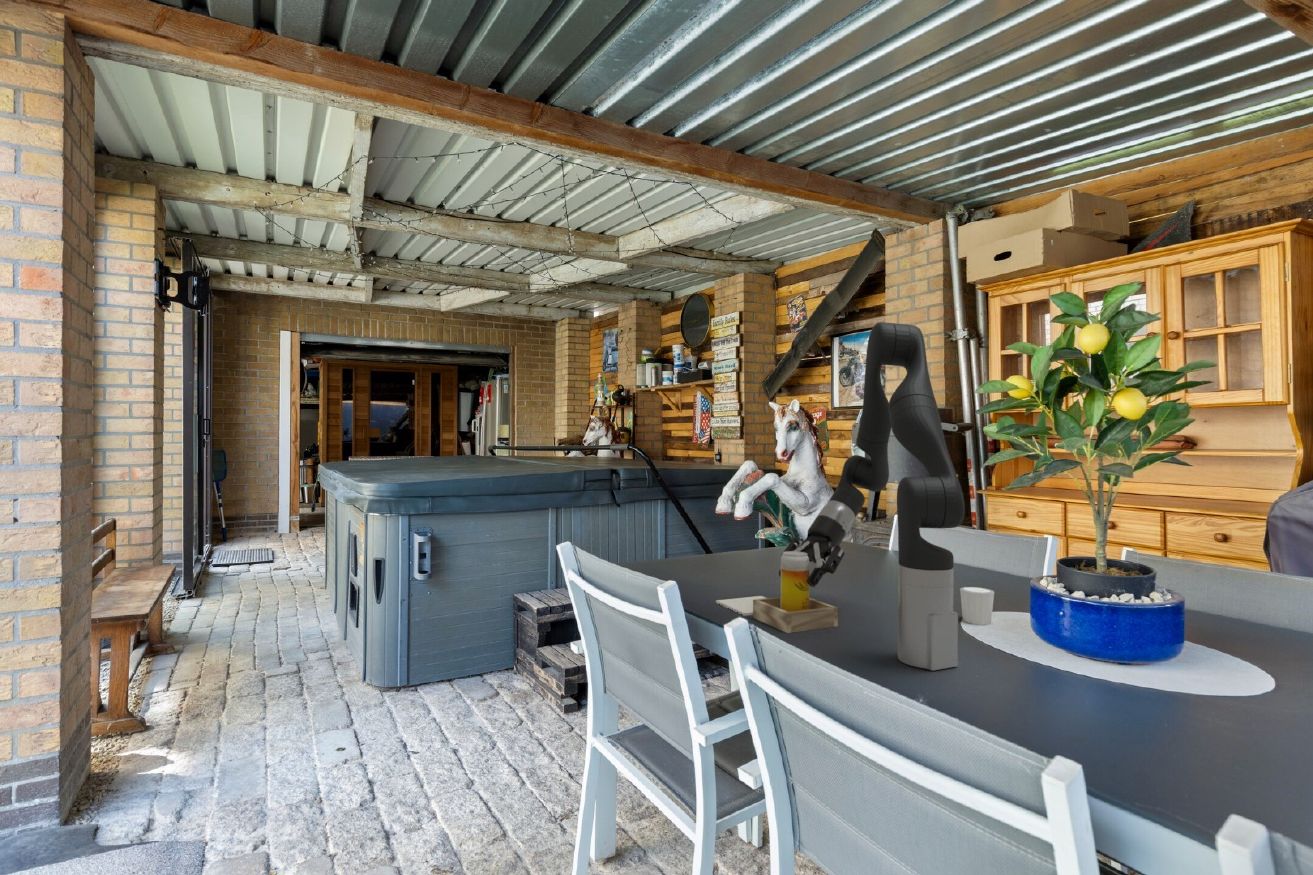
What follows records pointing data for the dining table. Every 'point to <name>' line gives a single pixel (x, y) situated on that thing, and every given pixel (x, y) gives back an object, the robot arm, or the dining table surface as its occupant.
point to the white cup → (977, 605)
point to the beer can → (794, 581)
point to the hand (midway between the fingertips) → (795, 580)
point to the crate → (795, 615)
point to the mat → (740, 604)
